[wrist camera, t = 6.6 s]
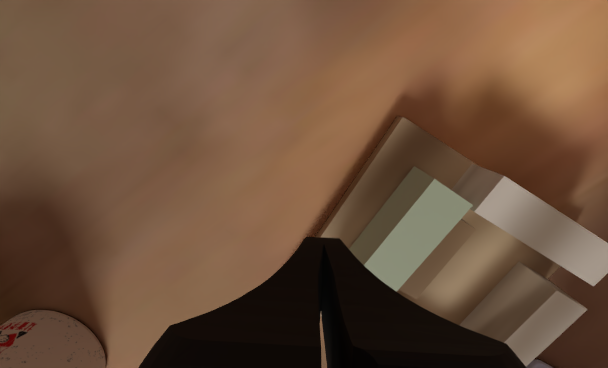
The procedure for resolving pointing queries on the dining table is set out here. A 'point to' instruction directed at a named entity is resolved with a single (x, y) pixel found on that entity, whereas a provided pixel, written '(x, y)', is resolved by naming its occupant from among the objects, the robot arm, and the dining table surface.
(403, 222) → the green rectangular block
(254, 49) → the dining table surface
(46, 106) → the dining table surface
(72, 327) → the teacup with lid
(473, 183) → the cream shallow tray
